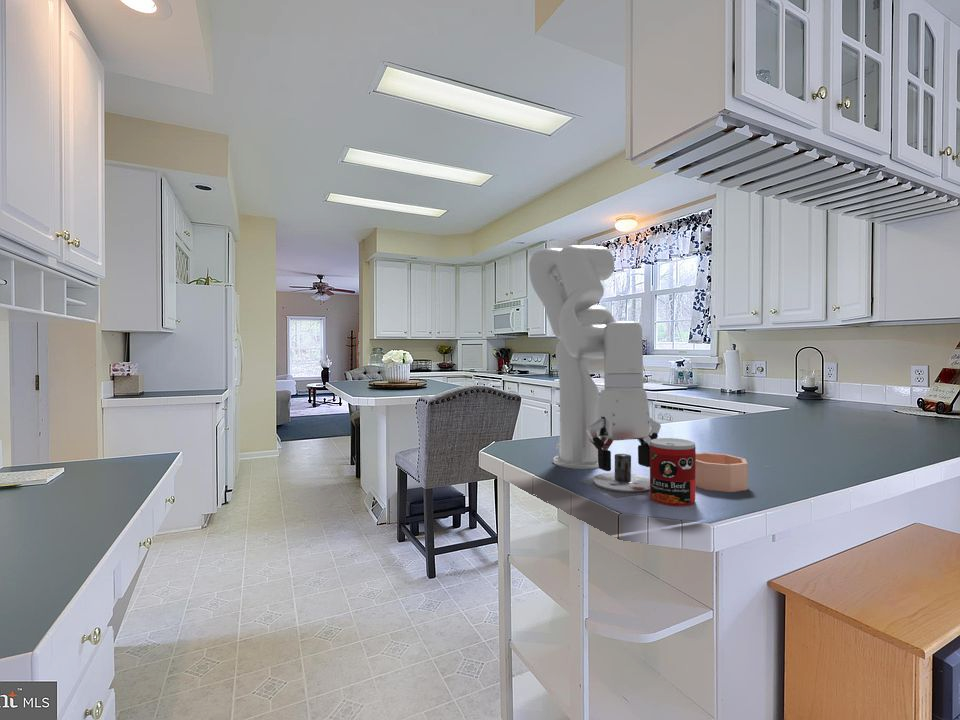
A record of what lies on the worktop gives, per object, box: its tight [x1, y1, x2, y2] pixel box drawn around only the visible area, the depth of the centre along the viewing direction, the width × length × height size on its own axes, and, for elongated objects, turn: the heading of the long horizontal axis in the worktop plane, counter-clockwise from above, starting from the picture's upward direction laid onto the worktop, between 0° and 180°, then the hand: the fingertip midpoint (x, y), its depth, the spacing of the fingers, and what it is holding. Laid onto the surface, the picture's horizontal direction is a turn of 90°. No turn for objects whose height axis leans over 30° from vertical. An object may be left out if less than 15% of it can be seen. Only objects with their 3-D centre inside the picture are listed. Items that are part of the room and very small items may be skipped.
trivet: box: [577, 477, 650, 499], centre depth 94 cm, size 13×13×1 cm
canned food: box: [649, 437, 697, 507], centre depth 85 cm, size 8×8×11 cm
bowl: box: [695, 452, 749, 493], centre depth 95 cm, size 11×11×6 cm
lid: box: [592, 453, 650, 493], centre depth 94 cm, size 12×12×6 cm
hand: (625, 467), depth 93 cm, fingers open, 9 cm apart
